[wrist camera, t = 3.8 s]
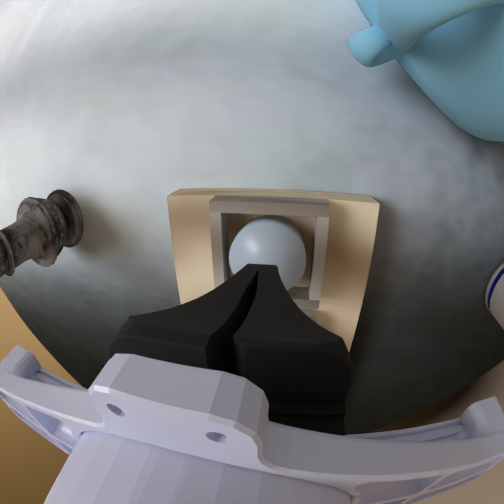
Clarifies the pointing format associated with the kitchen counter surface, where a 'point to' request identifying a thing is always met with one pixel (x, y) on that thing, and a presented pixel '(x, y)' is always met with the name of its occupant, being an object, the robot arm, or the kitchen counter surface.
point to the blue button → (270, 247)
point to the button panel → (312, 229)
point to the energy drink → (496, 295)
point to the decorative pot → (443, 55)
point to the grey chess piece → (40, 231)
